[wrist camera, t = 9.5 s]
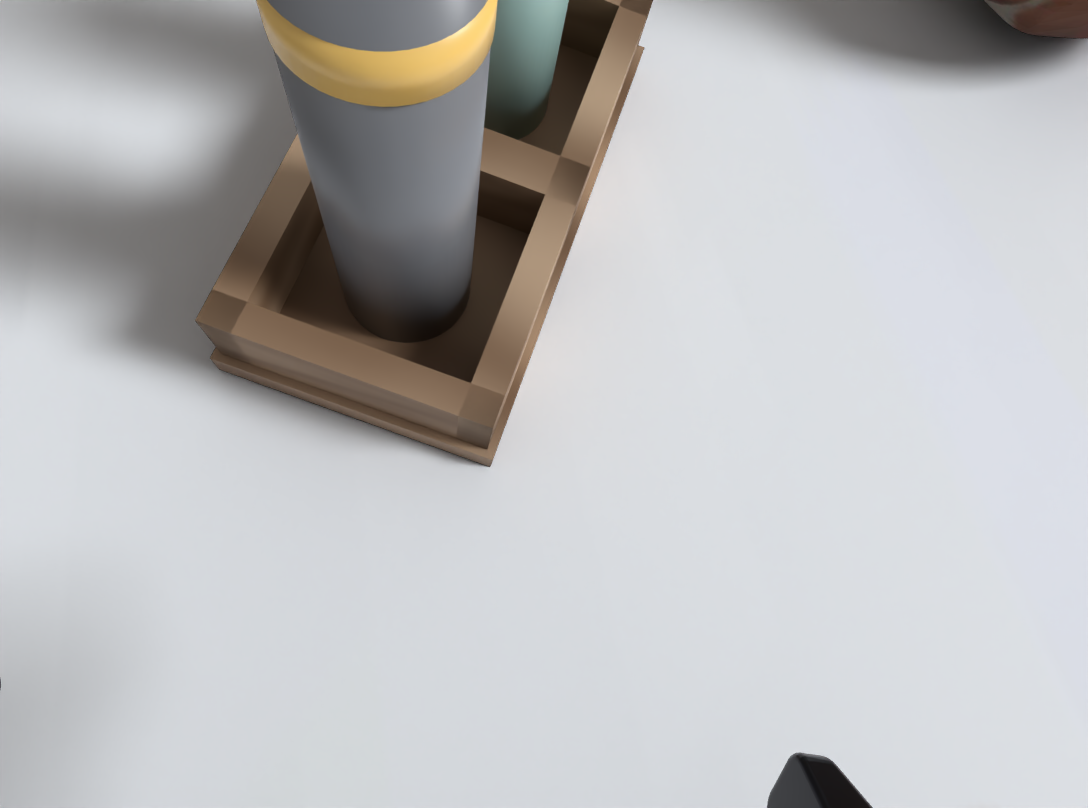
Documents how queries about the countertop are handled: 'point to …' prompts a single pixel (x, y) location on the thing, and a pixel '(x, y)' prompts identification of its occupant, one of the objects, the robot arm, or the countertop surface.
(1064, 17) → the butternut squash
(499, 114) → the plug teal
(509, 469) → the countertop surface
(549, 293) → the slot rack
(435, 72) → the plug charcoal
